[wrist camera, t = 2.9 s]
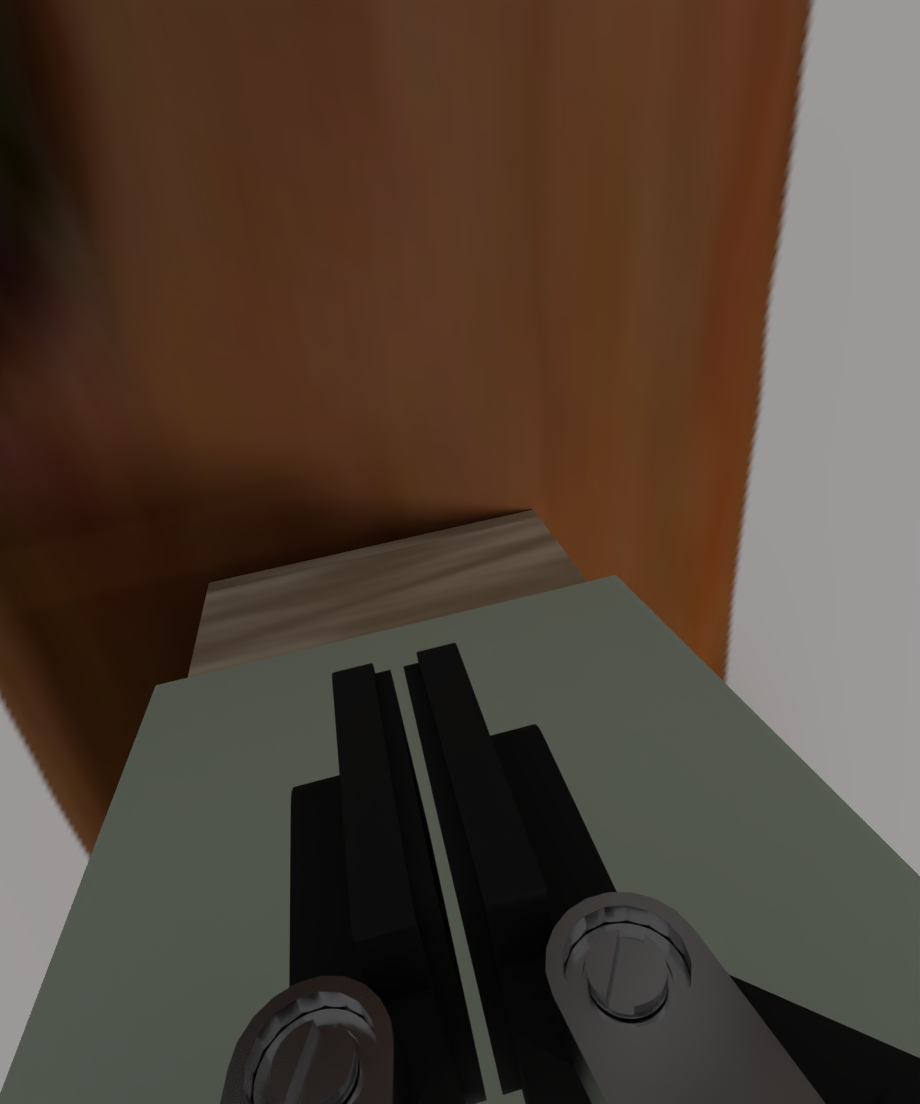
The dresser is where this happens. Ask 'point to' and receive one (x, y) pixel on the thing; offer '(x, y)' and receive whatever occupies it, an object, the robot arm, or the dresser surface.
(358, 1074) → the robot arm
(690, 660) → the lid
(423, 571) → the box
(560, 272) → the dresser surface
